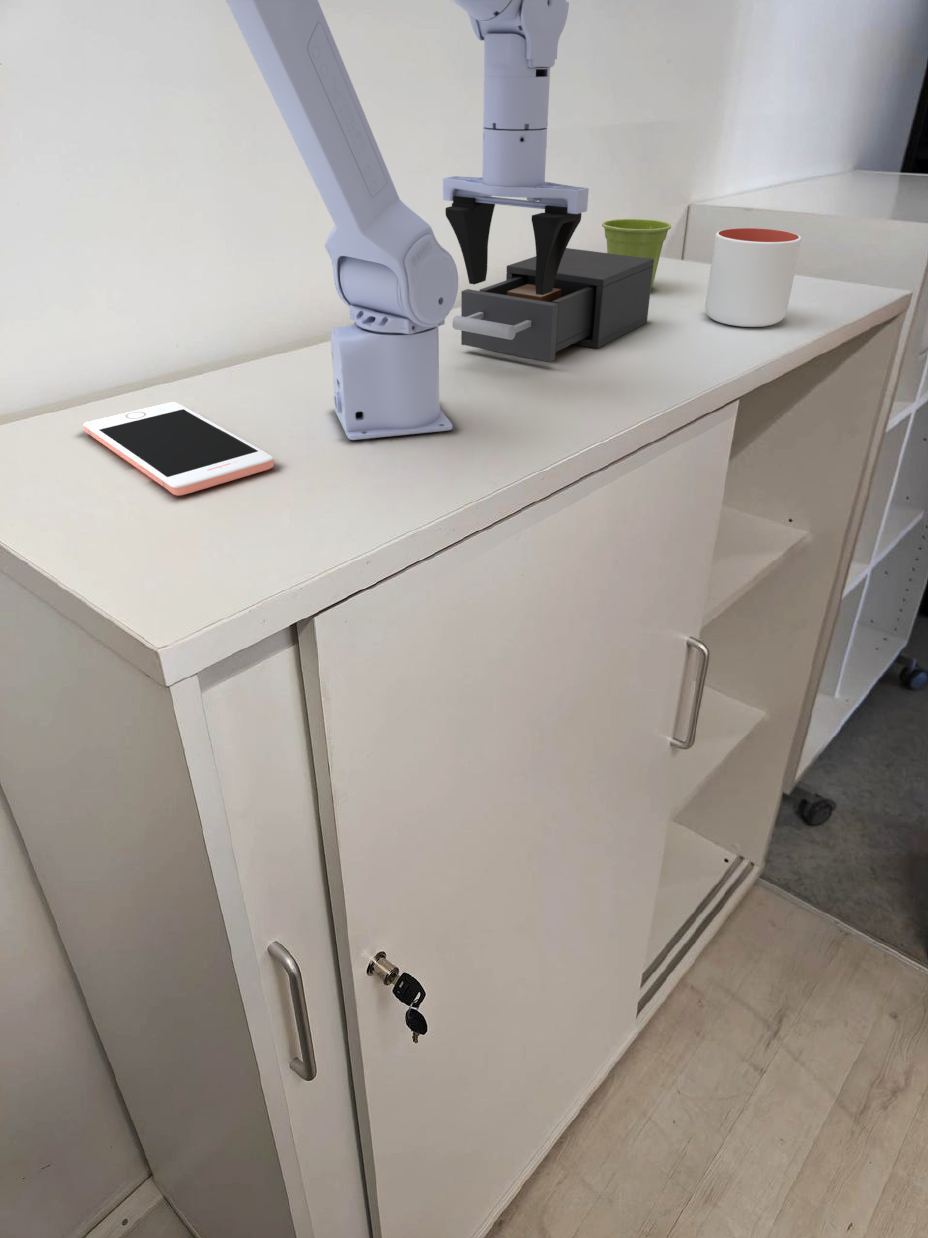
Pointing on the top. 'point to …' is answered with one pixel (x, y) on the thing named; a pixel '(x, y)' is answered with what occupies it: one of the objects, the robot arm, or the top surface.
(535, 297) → the block
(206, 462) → the cell phone
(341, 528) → the top surface
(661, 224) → the plant pot
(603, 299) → the cabinet
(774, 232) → the cup
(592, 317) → the drawer
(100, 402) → the top surface
